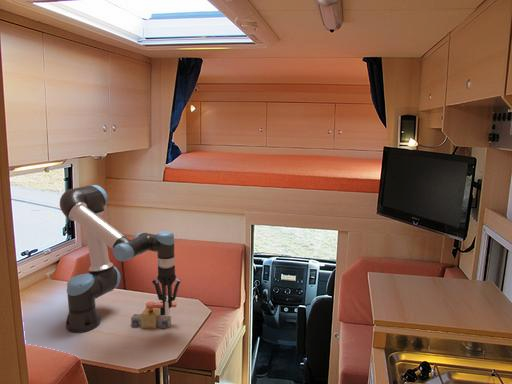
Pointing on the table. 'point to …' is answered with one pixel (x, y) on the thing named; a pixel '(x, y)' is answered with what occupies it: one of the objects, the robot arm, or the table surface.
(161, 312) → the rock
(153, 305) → the lever
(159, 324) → the valve
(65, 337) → the table surface
